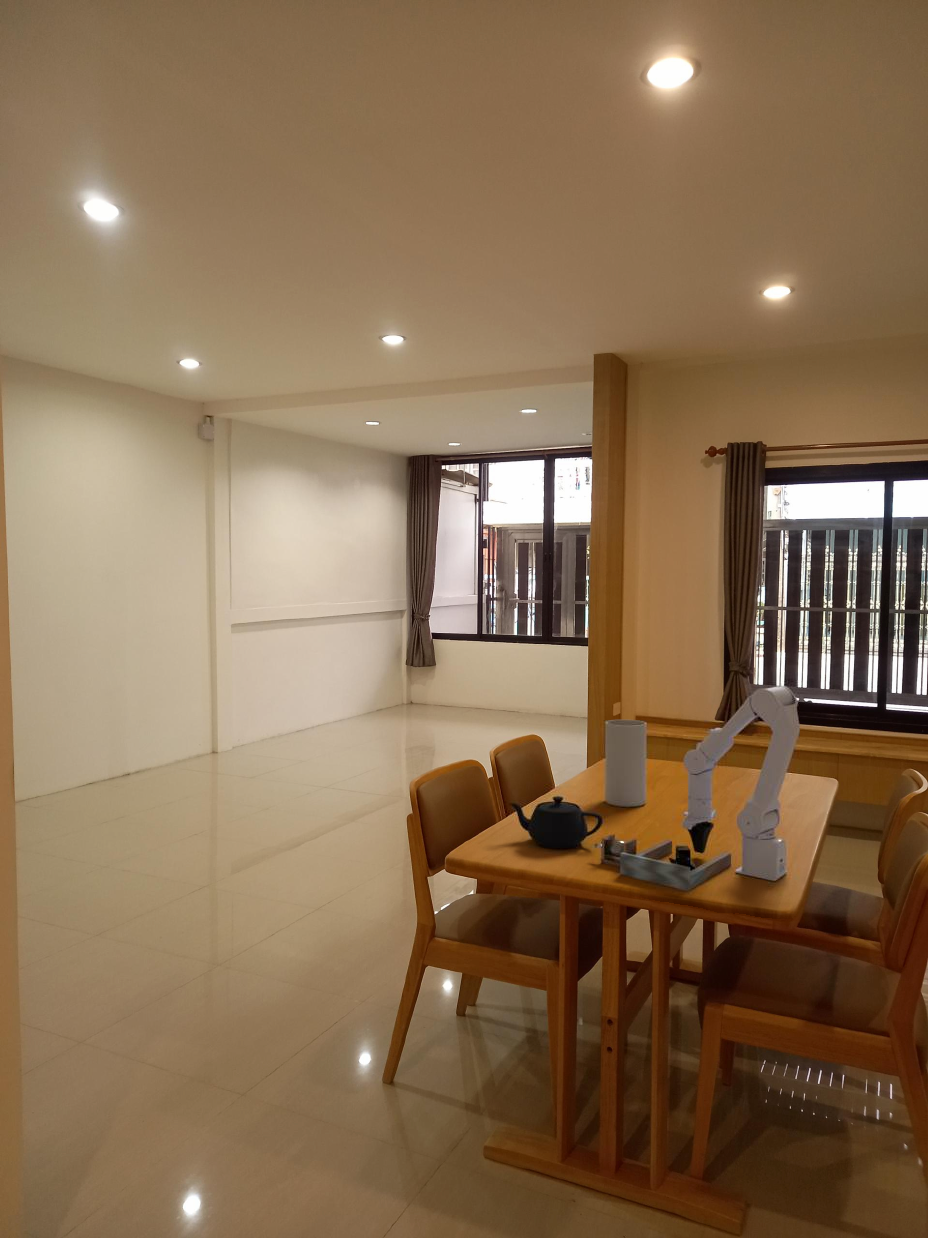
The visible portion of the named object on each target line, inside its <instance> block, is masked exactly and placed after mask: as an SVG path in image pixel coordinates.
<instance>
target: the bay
mask: <svg viewBox="0 0 928 1238" xmlns="http://www.w3.org/2000/svg"><path fill="white" fill-rule="evenodd" d="M672 853H673V841H672V840H669V839H665V840H663V841H661V842H659V843H657V844H655V845H653V846H650V847H649V848H646V849H645V850H642V851H640V852H637V853H636V855H632V854H628V853H623V852H622V853H621V858H620V867H619V868H620V869H619V870H620V871H619V874H620V875H621V876H625V877H629V878H634V879H637V880H642V881H645V882H646V881H647V882H650V883H653V884H657V885H662V886H665V887H671V888H675V889H679V890H682V891H685V892H686V891H687V892H690V891H691V890H692V889H693V888H696V887H697V886H699V885H700V884H702V883H704V882H706V881H707V880H709V879H710V878H712V877H714V876H715V875H717V874H719V873H721V872H723V871H724V870H726V869H727V868H729V867H730V866H732V852H728V851H724V852H722V853H721V854H719V855H717V856H715V857H713V858H711V859H710V860H708V861H706V862H705V863H703V864H701V865H699V866H698V867H696V868H695V869H694V870H692V871H690V867H686V866H682V865H677V864H673V863H671V862H669V861H664V860H660V859H663V858H665V857H666V856H668V855H670V854H672Z"/></svg>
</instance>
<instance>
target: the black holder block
mask: <svg viewBox="0 0 928 1238" xmlns="http://www.w3.org/2000/svg"><path fill="white" fill-rule="evenodd" d="M668 859H669V861H670V862H669V863H673V864H677V865H682V866H686V867H690V871H692V870H694V869H695V868H697V867H696V864H695V863H694V861H693V859H692V858H691V849H690V847H689V845H675V857H668Z"/></svg>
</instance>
